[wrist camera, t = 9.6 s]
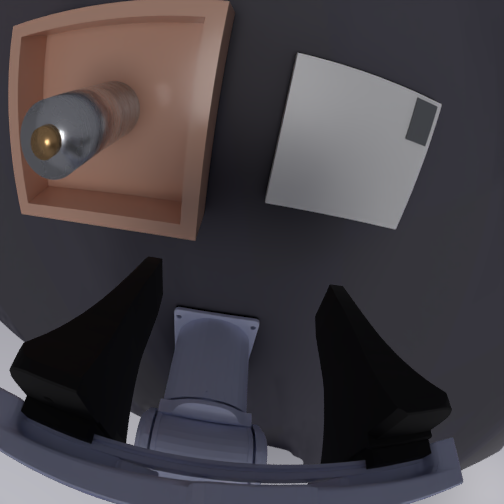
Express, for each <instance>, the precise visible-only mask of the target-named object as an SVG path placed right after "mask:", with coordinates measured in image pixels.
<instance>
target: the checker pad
mask: <svg viewBox="0 0 504 504" xmlns="http://www.w3.org/2000/svg"><path fill="white" fill-rule="evenodd" d="M441 105H442V104H440V103H438V102H436V101H434V100H432V99H429V98H427V97H425V96H423V95H421V94H419V93H417V92H414V91H412V90H410V89H408V88H405V87H403V86H400V85H398V84H396V83H393V82H391V81H388V80H385V79H383V78H380V77H378V76H375V75H372V74H369V73H366V72H364V71H361V70H358V69H355V68H351V67H348V66H345V65H342V64H339V63H335V62H332V61H328V60H325V59H321V58H317V57H313V56H309V55H305V54H301V53H296V58H295V62H294V67H293V71H292V76H291V81H290V85H289V90H288V94H287V99H286V103H285V108H284V113H283V117H282V122H281V126H280V131H279V136H278V140H277V145H276V149H275V154H274V159H273V163H272V168H271V172H270V177H269V181H268V186H267V191H266V195H265V203H268V204H274V205H280V206H285V207H291V208H296V209H301V210H307V211H312V212H317V213H322V214H327V215H332V216H337V217H342V218H346V219H351V220H356V221H360V222H365V223H370V224H374V225H379V226H383V227H387V228H392V229H396V227H397V225H398V223H399V221H400V218H401V216H402V214H403V211H404V209H405V207H406V204H407V202H408V200H409V197H410V195H411V192H412V190H413V187H414V185H415V182H416V180H417V177H418V174H419V172H420V169H421V166H422V164H423V161H424V158H425V155H426V152H427V150H428V147H429V144H430V141H431V138H432V135H433V132H434V129H435V125H436V122H437V119H438V116H439V112H440V109H441Z"/></svg>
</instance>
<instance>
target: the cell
mask: <svg viewBox="0 0 504 504" xmlns="http://www.w3.org/2000/svg"><path fill="white" fill-rule="evenodd" d="M139 114H140V103H139V99H138V97H137V95H136V93H135V91H134V90H133V89H132V88H131V87H130V86H129V85H127V84H125V83H123V82H119V81H110V82H105V83H101V84H96V85H92V86H88V87H84V88H80V89H76V90H73V91H69V92H65V93H62V94H59V95H55V96H52V97H49V98H46V99H43V100H40V101H38V102H37V103H35V104H34V105H33V106H32V107H31V108H30V109H29V110H28V112H27V113H26V115H25V117H24V119H23V122H22V126H21V133H20V141H21V148H22V152H23V155H24V157H25V159H26V161H27V163H28V164H29V166H30V167H31V168H32V169H33V171H35V172H36V173H37V174H38V175H40V176H41V177H43V178H46V179H50V180H58V179H62V178H65V177H66V176H68V175H69V174H71V173H72V172H73V171H75V170H76V169H77V168H79V167H80V166H81V165H83V164H84V163H85V162H87V161H88V160H90V159H91V158H92V157H94V156H95V155H97V154H98V153H99V152H101V151H102V150H104V149H105V148H107V147H108V146H110V145H111V144H113V143H114V142H116V141H117V140H119V139H120V138H122V137H123V136H125V135H127V134H128V133H129V132H130V131H131V130H132V129H133V128H134V127H135V125H136V123H137V121H138V118H139Z"/></svg>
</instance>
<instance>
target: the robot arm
mask: <svg viewBox="0 0 504 504" xmlns="http://www.w3.org/2000/svg"><path fill="white" fill-rule="evenodd" d="M162 296H163V281H162V259H160V258H154V257H147V258H146V259H145V260H144V261H143V262H142V263H141V264H140V265H139V266H138V267H137V268H136V269H135V270H134V271H133V272H132V273H131V274H130V275H129V276H128V277H127V278H125V279H124V280H123V281H122V282H121V283H120V284H119V285H118V286H117V287H116V288H115V289H113V290H112V291H111V292H110V293H109V294H108V295H106V296H105V297H104V298H103V299H102V300H100V301H99V302H98V303H96V304H95V305H94V306H92V307H91V308H90V309H88V310H87V311H85V312H84V313H82V314H81V315H79V316H78V317H76V318H74V319H73V320H71V321H70V322H68V323H66V324H64V325H63V326H61V327H59V328H57V329H55V330H53V331H51V332H49V333H47V334H44V335H42V336H40V337H37V338H35V339H32V340H30V341H27V342H24V343H23V345H22V347H21V348H20V350H19V352H18V354H17V355H16V358H15V359H14V362H13V364H12V366H11V368H10V373H11V376H12V378H13V379H14V381H15V382H16V383H17V384H18V385H19V386H20V388H21V389H22V390H23V391H24V392H25V394H26V395H27V397H26V399H25V402H24V401H23V400H22V399H21V398H19V397H17V396H15V395H13V394H12V393H10V392H8V391H6V390H4V389H2V388H0V451H1V452H3V453H4V454H6V455H7V456H9V457H11V458H13V459H14V460H16V461H18V462H19V463H21V464H23V465H25V466H27V467H29V468H30V469H32V470H34V471H36V472H38V473H40V474H42V475H44V476H46V477H48V478H51V479H53V480H55V481H57V482H59V483H62V484H64V485H66V486H68V487H71V488H73V489H76V490H78V491H81V492H83V493H86V494H89V495H91V496H94V497H97V498H100V499H103V500H106V501H109V502H112V503H116V504H409V503H413V502H416V501H419V500H422V499H425V498H428V497H431V496H433V495H436V494H438V493H441V492H444V491H446V490H448V489H451V488H453V487H455V486H458V485H460V484H462V483H463V478H462V473H461V468H460V464H459V459H458V455H457V451H456V447H455V443H454V439H453V438H452V437H451V438H448V439H444V440H440V441H437V442H434V443H431V444H429V440H428V439H430V438H431V437H432V434H431V429H433V428H434V427H435V426H437V425H438V424H440V423H441V422H442V421H444V420H445V419H446V418H447V417H448V416H449V415H450V413H451V411H452V409H451V406H450V403H449V400H448V397H447V394H446V392H444V391H442V390H441V389H439V388H438V387H436V386H435V385H433V384H432V383H430V382H429V381H427V380H426V379H425V378H423V377H422V376H421V375H419V374H418V373H417V372H416V371H414V370H413V369H412V368H411V367H410V366H409V365H407V364H406V363H405V362H404V361H403V360H402V359H401V358H400V357H399V356H398V355H397V354H396V353H395V352H394V351H393V350H392V349H391V348H390V347H389V346H388V345H387V344H386V343H385V341H384V340H383V339H382V338H381V337H380V336H379V334H378V333H377V332H376V331H375V329H374V328H373V327H372V326H371V324H370V323H369V322H368V320H367V319H366V318H365V316H364V315H363V314H362V312H361V311H360V309H359V308H358V307H357V305H356V304H355V302H354V301H353V300H352V298H351V297H350V296H349V294H348V293H347V291H346V290H345V289H344V287H343V286H337V285H329V288H328V290H327V292H326V294H325V296H324V299H323V301H322V303H321V305H320V307H319V309H318V312H317V314H316V316H315V322H316V339H317V346H318V352H319V358H320V364H321V370H322V376H323V384H324V435H323V448H322V458H321V464H307V465H269V464H268V465H267V441H266V437H265V434H264V433H263V432H262V430H261V429H260V427H259V426H258V425H254V424H251V421H252V414H250V413H246V410H247V386H248V361H249V357H250V354H251V351H252V347H253V344H254V341H255V338H256V334H257V331H258V328H259V320H258V319H255V318H248V317H241V316H234V315H227V314H220V313H214V312H207V311H201V310H195V309H189V308H183V307H176V308H175V311H174V329H175V351H174V355H173V359H172V364H171V368H170V373H169V377H168V382H167V386H166V391H165V395H164V399H160V404H159V408H158V409H157V408H153V407H151V408H149V410H147V411H145V412H144V413H143V414H142V416H141V419H140V422H139V425H138V429H137V433H136V438H135V444H134V446H133V445H130V444H126V438H127V430H128V422H129V415H130V409H131V403H132V397H133V392H134V387H135V382H136V378H137V373H138V369H139V365H140V361H141V358H142V355H143V352H144V349H145V347H146V344H147V341H148V339H149V336H150V333H151V331H152V328H153V326H154V323H155V320H156V318H157V315H158V311H159V308H160V304H161V300H162ZM180 315H181V316H180ZM252 326H254V327H252ZM261 483H308V484H307V485H260V484H261Z"/></svg>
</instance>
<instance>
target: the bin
mask: <svg viewBox="0 0 504 504" xmlns="http://www.w3.org/2000/svg"><path fill="white" fill-rule="evenodd" d="M234 16H235V12H234V10H233V8H232V6H231V4H230V2H229V1H220V0H137V1H125V2H116V3H109V4H102V5H95V6H89V7H84V8H79V9H74V10H69V11H65V12H60V13H56V14H52V15H48V16H45V17H41V18H38V19H34V20H31V21H28V22H25V23H22V24H19V25H16V26H13V33H12V41H11V51H10V64H9V127H10V140H11V151H12V160H13V167H14V174H15V181H16V187H17V193H18V198H19V203H20V208H21V213H22V214H26V215H33V216H39V217H46V218H52V219H59V220H65V221H72V222H78V223H85V224H91V225H98V226H104V227H110V228H117V229H123V230H130V231H136V232H142V233H149V234H155V235H162V236H168V237H174V238H181V239H187V240H194V241H195V240H196V237H197V234H198V231H199V228H200V225H201V222H202V219H203V216H204V211H205V202H206V194H207V185H208V177H209V169H210V161H211V153H212V146H213V139H214V132H215V125H216V118H217V111H218V105H219V98H220V92H221V86H222V80H223V74H224V69H225V63H226V57H227V52H228V47H229V41H230V36H231V31H232V26H233V21H234ZM110 81H119V82H123V83H125V84H127V85H129V86H130V87H131V88H132V89H133V90H134V91H135V93H136V95H137V97H138V99H139V103H140V114H139V118H138V121H137V123H136V125H135V127H134V128H133V129H132V130H131V131H130V132H129V133H128V134H127V135H125V136H123V137H122V138H120V139H119V140H117V141H116V142H114V143H113V144H111V145H110V146H108V147H107V148H105V149H104V150H102V151H101V152H99V153H98V154H97V155H95V156H94V157H92V158H91V159H90V160H88V161H87V162H85V163H84V164H83V165H81V166H80V167H79V168H77V169H76V170H75V171H73V172H72V173H71V174H69V175H68V176H66V177H65V178H62V179H58V180H50V179H46V178H43V177H41V176H40V175H38V174H37V173H36V172H35V171H33V169H32V168H31V167H30V166H29V164H28V163H27V161H26V159H25V157H24V155H23V152H22V148H21V141H20V133H21V126H22V122H23V119H24V117H25V115H26V113H27V112H28V110H29V109H30V108H31V107H32V106H33V105H34V104H35V103H37V102H38V101H40V100H43V99H46V98H49V97H52V96H55V95H59V94H62V93H65V92H69V91H73V90H76V89H80V88H84V87H88V86H92V85H96V84H101V83H105V82H110Z"/></svg>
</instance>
